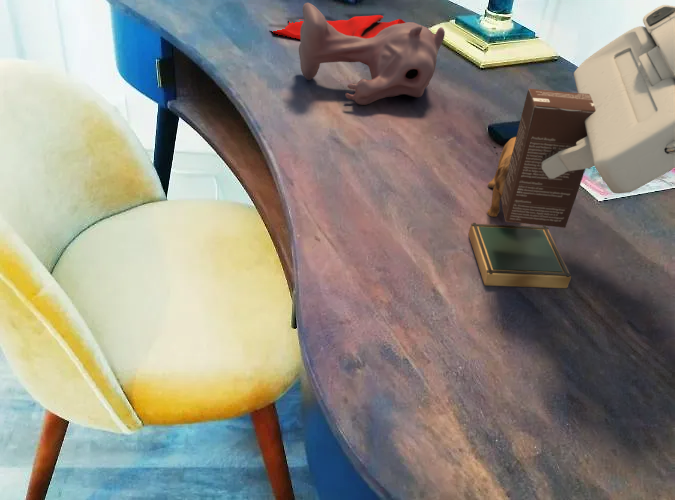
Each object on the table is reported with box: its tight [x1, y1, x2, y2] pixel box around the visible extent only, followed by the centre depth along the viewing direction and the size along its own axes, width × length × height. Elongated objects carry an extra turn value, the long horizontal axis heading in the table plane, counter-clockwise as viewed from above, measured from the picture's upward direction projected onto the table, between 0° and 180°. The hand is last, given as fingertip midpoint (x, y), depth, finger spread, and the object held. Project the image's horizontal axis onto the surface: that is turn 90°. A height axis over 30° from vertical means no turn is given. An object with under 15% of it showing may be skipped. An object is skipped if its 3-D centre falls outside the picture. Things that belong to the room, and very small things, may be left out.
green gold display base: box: [468, 222, 572, 289], centre depth 67 cm, size 8×8×2 cm
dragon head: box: [298, 2, 446, 106], centre depth 94 cm, size 14×13×20 cm
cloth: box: [273, 14, 407, 40], centre depth 115 cm, size 26×14×2 cm, turn 100°
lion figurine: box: [486, 136, 516, 218], centre depth 73 cm, size 15×5×9 cm, turn 174°
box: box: [500, 88, 596, 229], centre depth 60 cm, size 6×4×12 cm
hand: (542, 153), depth 59 cm, fingers closed on box, 4 cm apart
